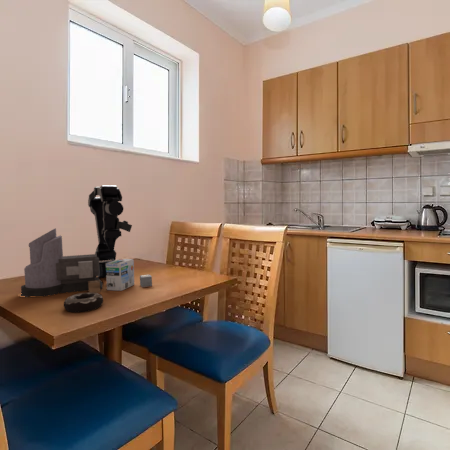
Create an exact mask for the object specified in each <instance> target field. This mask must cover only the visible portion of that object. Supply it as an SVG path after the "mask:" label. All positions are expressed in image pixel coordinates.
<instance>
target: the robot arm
mask: <svg viewBox="0 0 450 450" xmlns="http://www.w3.org/2000/svg"><path fill="white" fill-rule="evenodd" d="M97 196H98V197H97ZM121 202H123V196H122V193H121V191H120V188H119V187H118V185H101V186H94V187H93V191H92V192H91V193H90V194H89V195H88V199H87V205H88V208H89V210H90V212H91V214H93V216H94V220H95V221H94V222H95V226H96V233H97V234H96V235H97V240H98V245H97V246H96V248H95V252H94V254H96V257H99V276H97V278H99V279H102V278H106V263H108V262H111V261H114V260H117V259H116V258H117V252H116V249H115V247H116V246H115V245H116V241H117V240H118V238H120V237H122V231H121V230H123V231H126V232H128V233H131V230H132V227H133V225H132V224H130V223H129V222H128V221H127V220H123V221H120V218H119V217H118V216H120V215H122V213H123V212H124V206H123V204H122V203H121Z"/></svg>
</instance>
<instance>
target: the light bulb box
mask: <svg viewBox="0 0 450 450" xmlns="http://www.w3.org/2000/svg"><path fill="white" fill-rule="evenodd" d="M105 278H106V291H115V292H116V291H118V292H119V291H121V292H122V291H124V290H126V289H128V288H130V287H132V286H135V261H134V258H118V259H116V260H114V261H111V262H108V263H106V277H105Z"/></svg>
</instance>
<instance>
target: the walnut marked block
mask: <svg viewBox="0 0 450 450" xmlns="http://www.w3.org/2000/svg"><path fill="white" fill-rule="evenodd" d="M100 280H101V279H100ZM100 280H95V281H88V286H89V290H88V292H93V293H98V294H100V293H101V289H100Z"/></svg>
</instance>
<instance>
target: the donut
mask: <svg viewBox="0 0 450 450" xmlns="http://www.w3.org/2000/svg"><path fill="white" fill-rule="evenodd" d="M103 303H104V298H103V295H102V294H100V293H93V292H89V291H88V292H80V293H76V294H72V295H70V296H67V298H66V299H64V301H63V307H64V309H65V310H66V311H67V312H70V313H85V312H91V311H95V310H96V309H99V307H102V304H103Z"/></svg>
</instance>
